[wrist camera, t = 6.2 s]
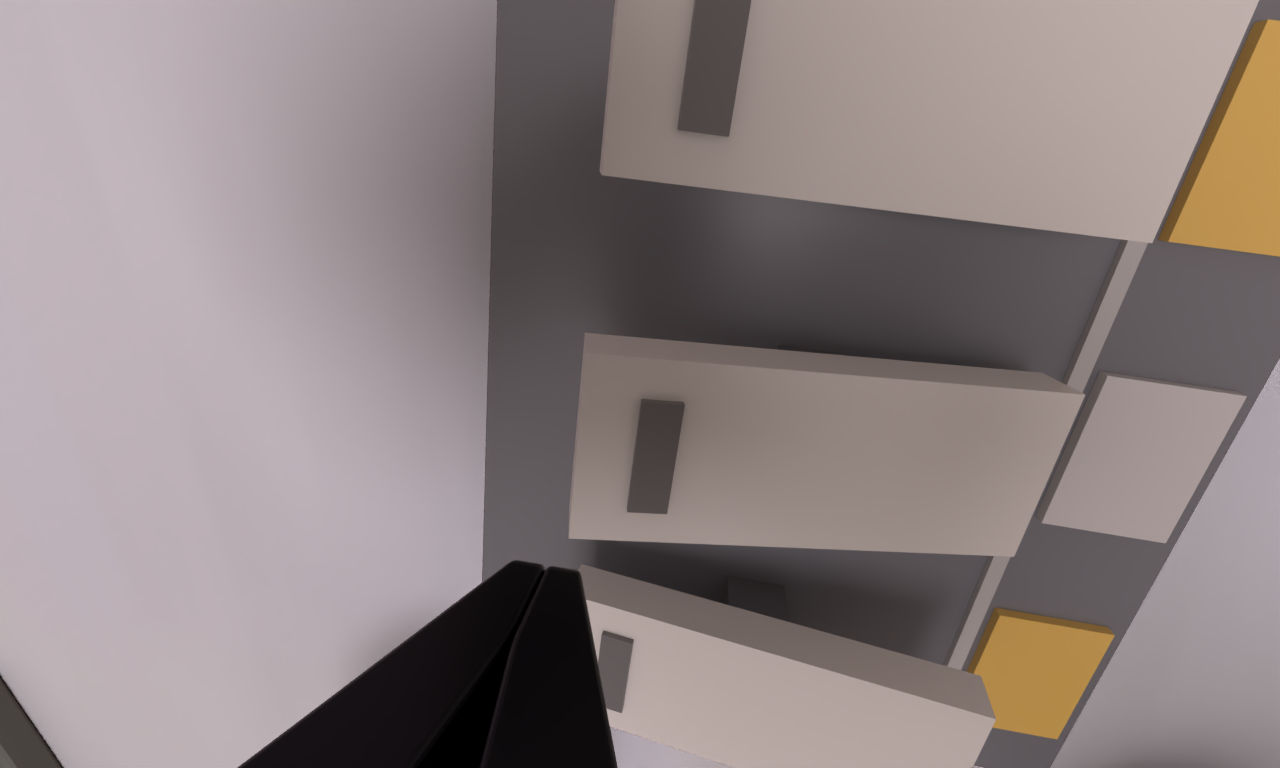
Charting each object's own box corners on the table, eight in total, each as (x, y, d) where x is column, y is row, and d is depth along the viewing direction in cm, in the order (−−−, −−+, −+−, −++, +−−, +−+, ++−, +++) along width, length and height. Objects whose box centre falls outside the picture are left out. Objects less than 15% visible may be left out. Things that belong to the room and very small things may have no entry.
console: (1308, -23, 14) (1652, -125, 9) (987, 673, 22) (1069, 826, 17) (554, -102, 15) (474, -234, 10) (517, 588, 23) (462, 709, 18)
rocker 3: (981, 676, 14) (998, 725, 13) (929, 789, 15) (940, 842, 14) (581, 564, 16) (562, 597, 15) (569, 673, 17) (552, 712, 16)
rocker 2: (1042, 373, 13) (1091, 397, 12) (980, 524, 14) (1018, 561, 13) (585, 332, 12) (585, 356, 10) (569, 504, 13) (568, 543, 12)
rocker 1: (1192, 0, 10) (1276, -19, 9) (1098, 233, 12) (1159, 244, 10) (624, -107, 9) (631, -147, 8) (599, 171, 10) (602, 175, 9)
